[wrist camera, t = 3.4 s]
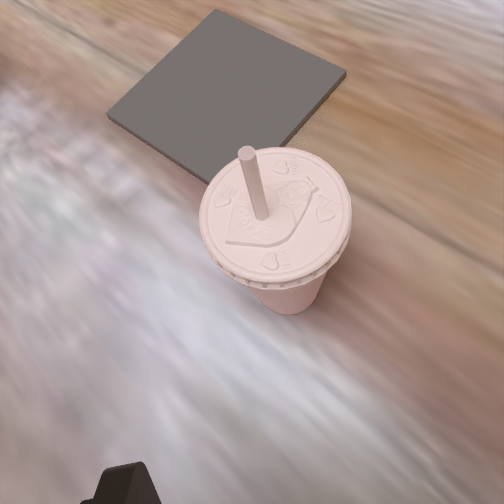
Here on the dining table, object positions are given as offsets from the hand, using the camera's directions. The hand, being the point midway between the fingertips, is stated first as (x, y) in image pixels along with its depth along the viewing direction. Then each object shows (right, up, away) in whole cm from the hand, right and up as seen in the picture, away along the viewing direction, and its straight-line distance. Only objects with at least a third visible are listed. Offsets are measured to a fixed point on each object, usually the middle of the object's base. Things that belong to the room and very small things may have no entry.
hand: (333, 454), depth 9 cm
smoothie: (+1, +2, +18) cm, 18 cm away
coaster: (-4, +16, +24) cm, 29 cm away
